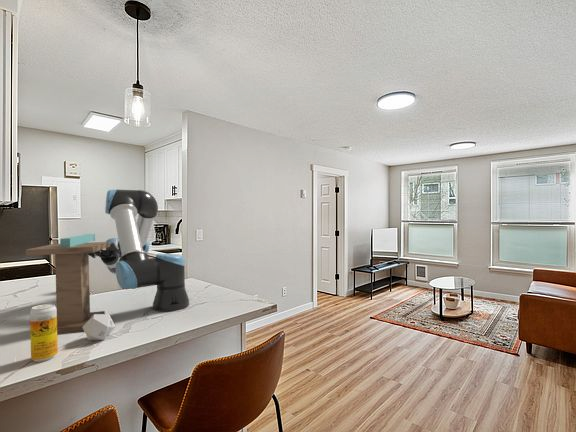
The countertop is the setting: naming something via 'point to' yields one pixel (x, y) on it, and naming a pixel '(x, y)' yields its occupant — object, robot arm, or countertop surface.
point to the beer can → (43, 332)
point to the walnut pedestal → (71, 283)
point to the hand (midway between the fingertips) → (98, 241)
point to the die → (98, 327)
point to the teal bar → (76, 240)
